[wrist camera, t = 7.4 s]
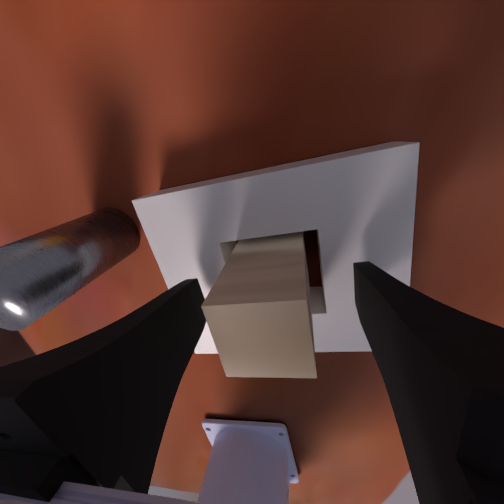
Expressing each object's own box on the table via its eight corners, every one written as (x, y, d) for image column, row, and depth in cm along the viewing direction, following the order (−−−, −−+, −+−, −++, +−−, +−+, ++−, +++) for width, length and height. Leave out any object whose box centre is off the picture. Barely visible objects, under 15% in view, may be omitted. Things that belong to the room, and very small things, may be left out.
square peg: (308, 271, 14) (317, 378, 8) (256, 276, 15) (226, 376, 9) (301, 220, 13) (306, 299, 7) (245, 228, 13) (201, 306, 7)
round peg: (147, 251, 15) (46, 329, 9) (107, 257, 16) (-11, 331, 10) (126, 203, 14) (-7, 256, 8) (84, 212, 15) (-68, 266, 9)
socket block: (388, 317, 14) (405, 350, 12) (208, 326, 17) (195, 353, 15) (393, 141, 10) (419, 142, 8) (158, 190, 13) (131, 200, 11)
